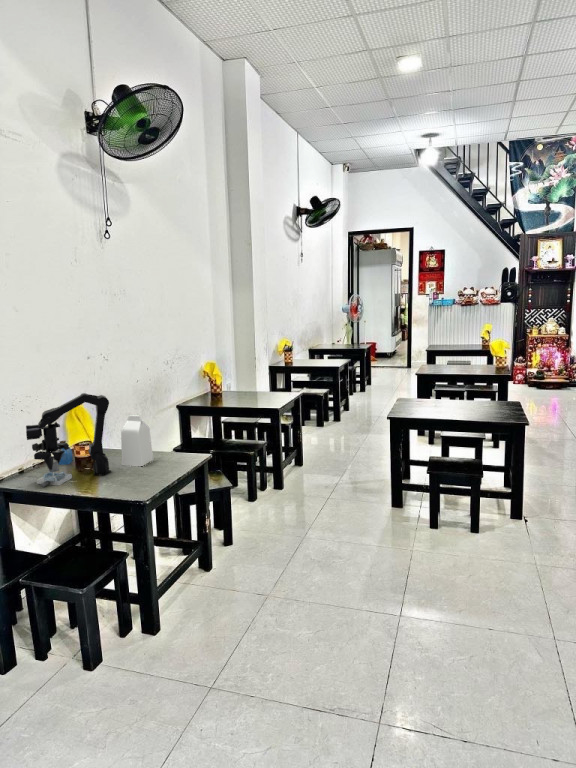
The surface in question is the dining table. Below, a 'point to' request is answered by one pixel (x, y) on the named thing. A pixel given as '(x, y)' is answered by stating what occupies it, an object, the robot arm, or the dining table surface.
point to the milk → (136, 442)
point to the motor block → (53, 478)
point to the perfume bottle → (66, 456)
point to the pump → (54, 466)
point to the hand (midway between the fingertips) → (53, 468)
